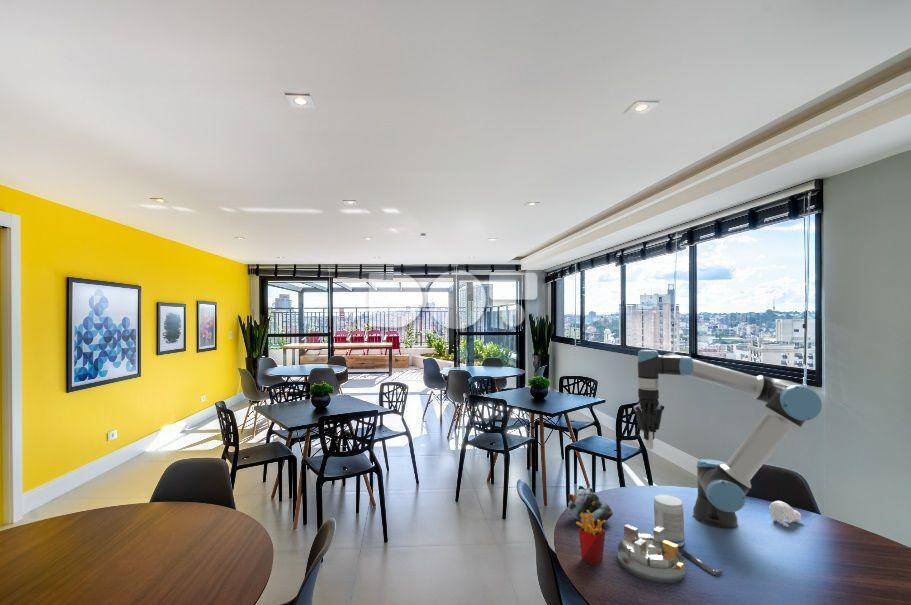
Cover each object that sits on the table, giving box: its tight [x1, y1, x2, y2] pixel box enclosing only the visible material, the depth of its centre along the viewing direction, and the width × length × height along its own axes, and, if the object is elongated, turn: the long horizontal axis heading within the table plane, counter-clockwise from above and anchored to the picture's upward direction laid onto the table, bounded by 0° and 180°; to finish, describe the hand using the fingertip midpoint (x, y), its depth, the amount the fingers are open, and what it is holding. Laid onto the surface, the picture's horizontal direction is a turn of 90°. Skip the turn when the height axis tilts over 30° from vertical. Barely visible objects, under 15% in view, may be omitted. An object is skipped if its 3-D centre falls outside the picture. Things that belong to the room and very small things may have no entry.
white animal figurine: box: [768, 500, 802, 528], centre depth 161 cm, size 6×8×12 cm
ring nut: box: [622, 523, 680, 569], centre depth 134 cm, size 16×16×6 cm
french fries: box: [575, 510, 607, 567], centre depth 136 cm, size 9×8×15 cm
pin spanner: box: [680, 549, 723, 577], centre depth 134 cm, size 13×3×2 cm, turn 15°
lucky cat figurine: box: [567, 485, 614, 527], centre depth 162 cm, size 15×12×14 cm
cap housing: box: [617, 539, 686, 584], centre depth 134 cm, size 20×20×6 cm
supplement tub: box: [653, 494, 685, 548], centre depth 148 cm, size 10×10×15 cm
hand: (649, 447), depth 162 cm, fingers closed
